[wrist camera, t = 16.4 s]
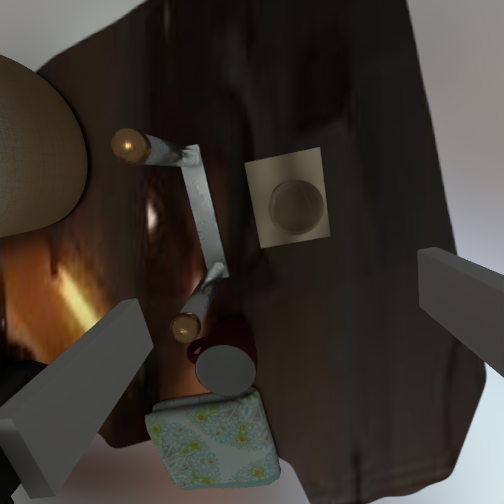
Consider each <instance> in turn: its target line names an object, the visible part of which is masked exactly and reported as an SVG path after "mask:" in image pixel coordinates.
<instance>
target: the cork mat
mask: <svg viewBox="0 0 504 504" xmlns="http://www.w3.org/2000/svg"><path fill="white" fill-rule="evenodd" d="M245 168H246V174H247V179H248V184H249V189H250V194H251V199H252V205H253V210H254V215H255V220H256V225H257V230H258V236H259V241H260V246H261V248H265V247H270V246H276V245H282V244H288V243H294V242H299V241H305V240H311V239H317V238H323V237H329V236H330V229H329V221H328V212H327V204H326V195H325V187H324V178H323V170H322V161H321V153H320V147H318V148H314V149H309V150H304V151H299V152H295V153H290V154H285V155H280V156H276V157H271V158H266V159H262V160H257V161H252V162H247V163H245ZM290 180H304V181H307V182H309V183H311V184H313V185H314V186H315V187H316V188H317V189H318V190H319V191H320V193H321V195H322V197H323V201H324V212H323V216H322V218H321V220H320V222H319V223H318V225H317V226H316V227H315V228H314V229H313V230H311V231H310V232H308V233H305V234H302V235H288V234H285V233H283V232H281V231H280V230H278V229H277V228H276V227H275V226H274V224H273V223H272V221H271V219H270V216H269V211H268V205H269V200H270V197H271V194H272V192H273V190H274V189H275V187H276V186H278V185H279V184H280V183H282V182H285V181H290Z"/></svg>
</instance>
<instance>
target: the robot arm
mask: <svg viewBox="0 0 504 504" xmlns="http://www.w3.org/2000/svg"><path fill="white" fill-rule="evenodd" d="M418 276H419V304H420V307H421V308H422V309H423V310H425V311H426V312H427V313H428V314H429V315H430V316H432V317H433V318H434V319H435V320H436V321H438V322H439V323H440V324H441V325H442V326H443V327H445V328H446V329H447V330H448V331H449V332H451V333H452V334H453V335H454V336H455V337H456V338H458V339H459V340H460V341H461V342H462V343H463V344H465V345H466V346H467V347H468V348H469V349H471V350H472V351H473V352H474V353H475V354H476V355H478V356H479V357H480V358H481V359H482V360H483V361H485V362H486V363H487V364H488V365H489V366H491V367H492V368H493V369H494V370H495V371H497V372H498V373H499V374H500V375H501V376H502V377H504V275H502V274H499V273H497V272H494V271H492V270H490V269H487V268H485V267H483V266H480V265H478V264H475V263H473V262H471V261H468V260H466V259H464V258H461V257H459V256H456V255H454V254H452V253H449V252H447V251H444V250H442V249H440V248H437V247H433V248H427V249H421V250H418ZM153 347H154V346H153V343H152V340H151V337H150V334H149V331H148V329H147V326H146V323H145V320H144V317H143V314H142V311H141V309H140V306H139V303H138V300H137V298H135V299H129V300H124V301H121V302H120V303H119V304H118V305H117V306H116V307H115V308H113V309H112V310H111V311H110V312H109V313H108V314H107V315H105V316H104V317H103V318H102V319H101V320H100V321H99V322H97V323H96V324H95V325H94V326H93V327H92V328H91V329H89V330H88V331H87V332H86V333H85V334H84V335H83V336H81V337H80V338H79V339H78V340H77V341H76V342H75V343H73V344H72V345H71V346H70V347H69V348H68V349H67V350H65V351H64V352H63V353H62V354H61V355H60V356H59V357H57V358H56V359H55V360H54V361H53V362H52V363H51V364H49V365H48V366H47V365H45V364H42V363H39V362H35V361H18V362H14V363H12V364H10V365H8V366H7V367H5V368H4V369H3V370H1V371H0V504H14V501H13V500H12V498H11V495H12V494H13V493H14V491H15V490H16V489H17V487H18V486H19V485H20V484H22V486H23V487H24V489H25V491H26V492H27V494H28V495H29V497H30V498H31V499H32V498H43V497H53V496H56V495H57V493H58V492H59V490H60V489H61V487H62V485H63V484H64V482H65V481H66V479H67V478H68V476H69V475H70V473H71V472H72V470H73V469H74V467H75V466H76V464H77V462H78V461H79V460H80V458H81V456H82V455H83V453H84V452H85V450H86V449H87V447H88V446H89V444H90V443H91V441H92V440H93V438H94V437H95V435H96V434H97V432H98V431H99V429H100V428H101V426H102V424H103V423H104V421H105V420H106V418H107V417H108V415H109V414H110V412H111V411H112V409H113V408H114V406H115V405H116V403H117V402H118V400H119V399H120V397H121V395H122V394H123V392H124V391H125V389H126V388H127V386H128V385H129V383H130V382H131V380H132V379H133V377H134V376H135V374H136V373H137V371H138V369H139V368H140V366H141V365H142V363H143V362H144V360H145V359H146V357H147V356H148V354H149V353H150V351H151V350H152V348H153Z"/></svg>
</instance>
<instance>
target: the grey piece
mask: <svg viewBox="0 0 504 504" xmlns="http://www.w3.org/2000/svg"><path fill="white" fill-rule="evenodd" d="M112 149H113V152H114V154H115V155H116V157H117V158H118V159H119V160H120V161H121V162H123V163H125V164H127V165H130V166H139V165H142V164H148V165H161V166H174V167H181V169H182V172H183V176H184V180H185V184H186V188H187V192H188V196H189V200H190V204H191V208H192V211H193V215H194V219H195V223H196V227H197V231H198V235H199V239H200V243H201V247H202V250H203V254H204V258H205V262H206V266H207V271H206V273H205V274H204V276H203V277H202V279H201V281H200V282H199V284H198V285H197V287H196V288H195V290H194V291H193V293H192V295H191V296H190V298H189V299H188V301H187V302H186V304H185V305H184V307H183V308H182V310H181V312H180V313H179V314H178V315H176V316H175V317H174V319H173V320H172V322H171V325H170V331H171V335H172V336H173V338H174V339H175V340H177V341H178V342H181V343H188V342H191V341H193V340H194V339H196V338H197V337H198V335H199V333H200V331H201V324H202V322H203V319H204V317H205V315H206V313H207V311H208V308H209V306H210V304H211V302H212V299H213V297H214V295H215V293H216V291H217V288H218V286H219V284H220V282H221V280H222V278H226V277H229V276H230V271H229V266H228V262H227V258H226V253H225V249H224V245H223V240H222V236H221V232H220V228H219V223H218V219H217V215H216V210H215V206H214V202H213V197H212V193H211V189H210V185H209V180H208V176H207V172H206V167H205V163H204V159H203V154H202V150H201V146H200V145H199V144H196V145H192V146H187V147H184V146H181V145H178V144H175V143H171V142H168V141H165V140H162V139H159V138H156V137H153V136H150V135H146V134H144V133H143V132H142V131H140V130H139V129H136V128H133V127H124V128H121V129H119V130H118V131H117V132H116V133H115V134H114V136H113V138H112Z"/></svg>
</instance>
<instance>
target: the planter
mask: <svg viewBox="0 0 504 504" xmlns="http://www.w3.org/2000/svg"><path fill="white" fill-rule="evenodd" d="M86 177H87V152H86V147H85V142H84V138H83V135H82V132H81V129H80V127H79V125H78V122H77V120H76V118H75V116H74V114H73V113H72V111H71V109H70V108H69V106H68V105H67V103H66V102H65V100H64V99H63V98H62V97H61V95H60V94H59V93H58V92H57V91H56V90H55V89H54V88H53V87H52V86H51V85H50V84H49V83H48V82H47V81H46V80H45V79H43V78H42V77H41V76H39V75H38V74H36V73H35V72H33V71H32V70H30V69H28V68H27V67H25V66H23V65H21V64H20V63H18V62H16V61H14V60H11V59H9V58H7V57H5V56H3V55H0V237H5V236H9V235H14V234H18V233H23V232H27V231H32V230H36V229H40V228H43V227H46V226H49V225H51V224H53V223H56V222H58V221H59V220H61V219H62V218H64V217H65V216H66V215H67V214H69V213H70V212H71V210H72V209H73V208H74V207H75V206H76V204H77V203H78V201H79V199H80V197H81V195H82V192H83V190H84V187H85V183H86Z"/></svg>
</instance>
